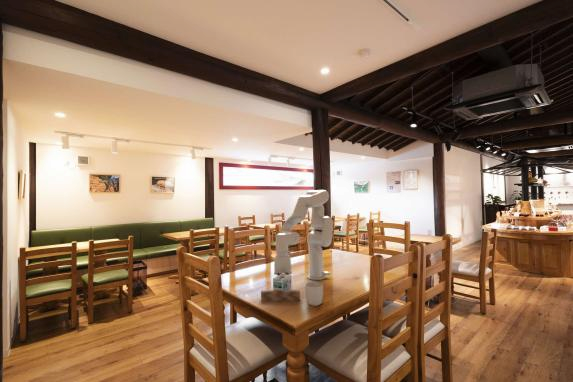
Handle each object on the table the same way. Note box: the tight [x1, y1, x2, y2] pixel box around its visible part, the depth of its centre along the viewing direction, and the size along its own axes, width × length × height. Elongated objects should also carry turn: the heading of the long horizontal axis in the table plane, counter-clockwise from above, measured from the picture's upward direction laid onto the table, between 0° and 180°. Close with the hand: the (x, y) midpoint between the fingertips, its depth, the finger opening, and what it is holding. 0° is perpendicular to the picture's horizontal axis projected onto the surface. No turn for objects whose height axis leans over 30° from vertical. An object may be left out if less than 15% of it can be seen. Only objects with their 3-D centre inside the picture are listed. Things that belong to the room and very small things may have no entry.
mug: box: [305, 281, 324, 307], centre depth 143 cm, size 13×9×10 cm
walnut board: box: [260, 289, 301, 302], centre depth 146 cm, size 21×2×5 cm, turn 86°
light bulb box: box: [272, 273, 293, 290], centre depth 153 cm, size 11×7×11 cm, turn 152°
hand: (283, 283), depth 163 cm, fingers closed
